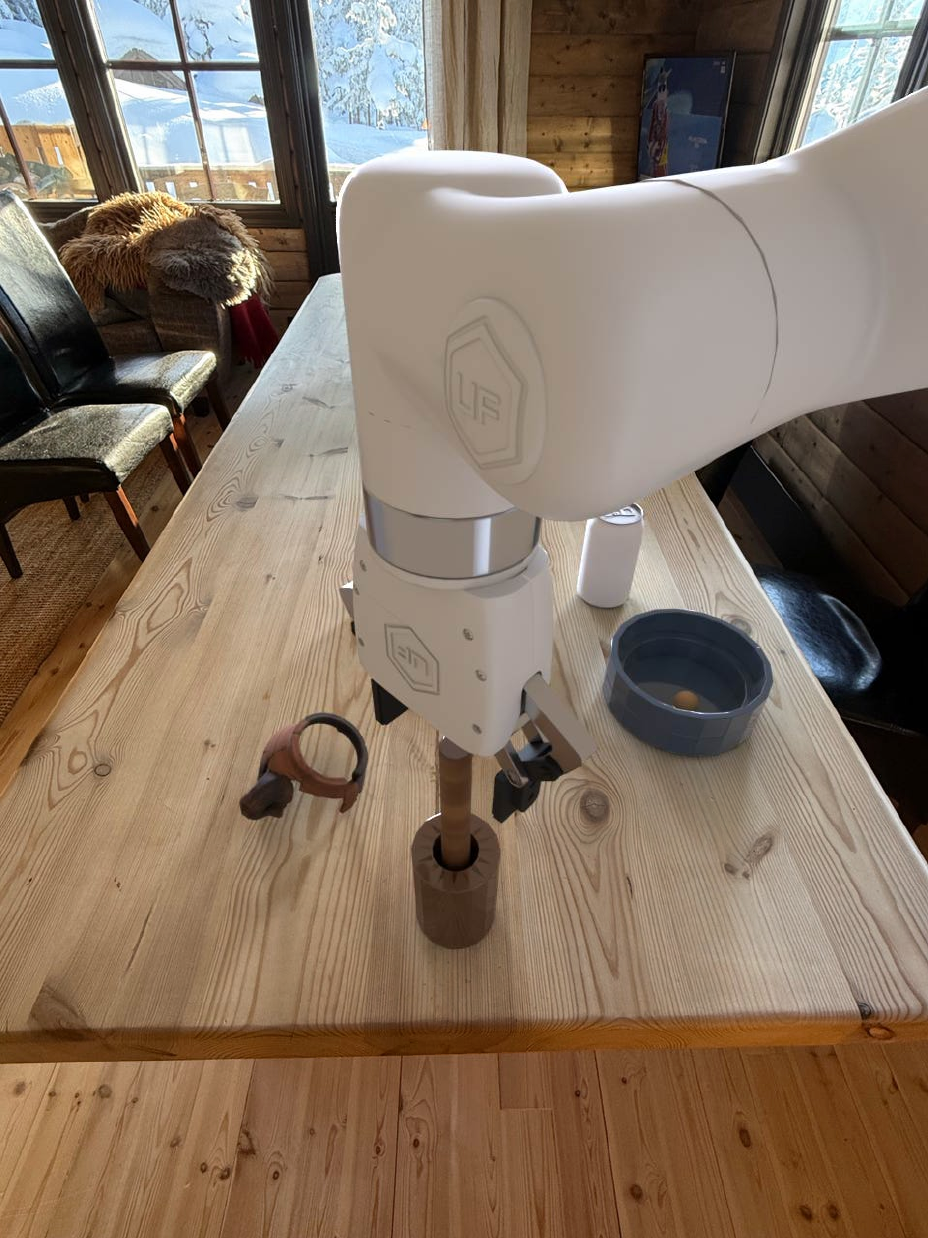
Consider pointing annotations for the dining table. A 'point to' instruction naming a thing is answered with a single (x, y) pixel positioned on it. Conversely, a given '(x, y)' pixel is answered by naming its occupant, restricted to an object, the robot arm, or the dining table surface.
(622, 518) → the can
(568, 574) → the dining table surface
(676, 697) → the cork ball
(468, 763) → the stick
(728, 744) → the bowl
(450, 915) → the holder
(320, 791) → the broken pottery
